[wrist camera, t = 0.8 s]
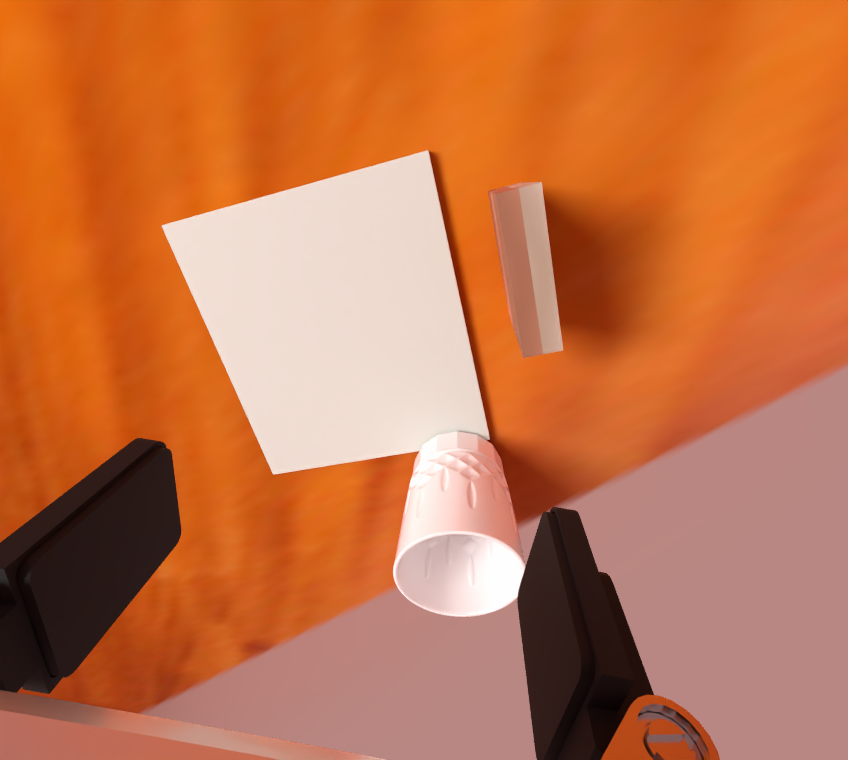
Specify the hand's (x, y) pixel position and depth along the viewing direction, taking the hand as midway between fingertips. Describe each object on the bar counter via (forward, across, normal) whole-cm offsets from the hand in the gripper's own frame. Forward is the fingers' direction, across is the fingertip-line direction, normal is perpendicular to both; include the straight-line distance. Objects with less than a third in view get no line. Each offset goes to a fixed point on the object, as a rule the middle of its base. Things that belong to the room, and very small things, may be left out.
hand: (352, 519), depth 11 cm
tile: (+21, -5, -4) cm, 22 cm away
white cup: (+21, -4, +12) cm, 24 cm away
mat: (+21, +6, +3) cm, 22 cm away
